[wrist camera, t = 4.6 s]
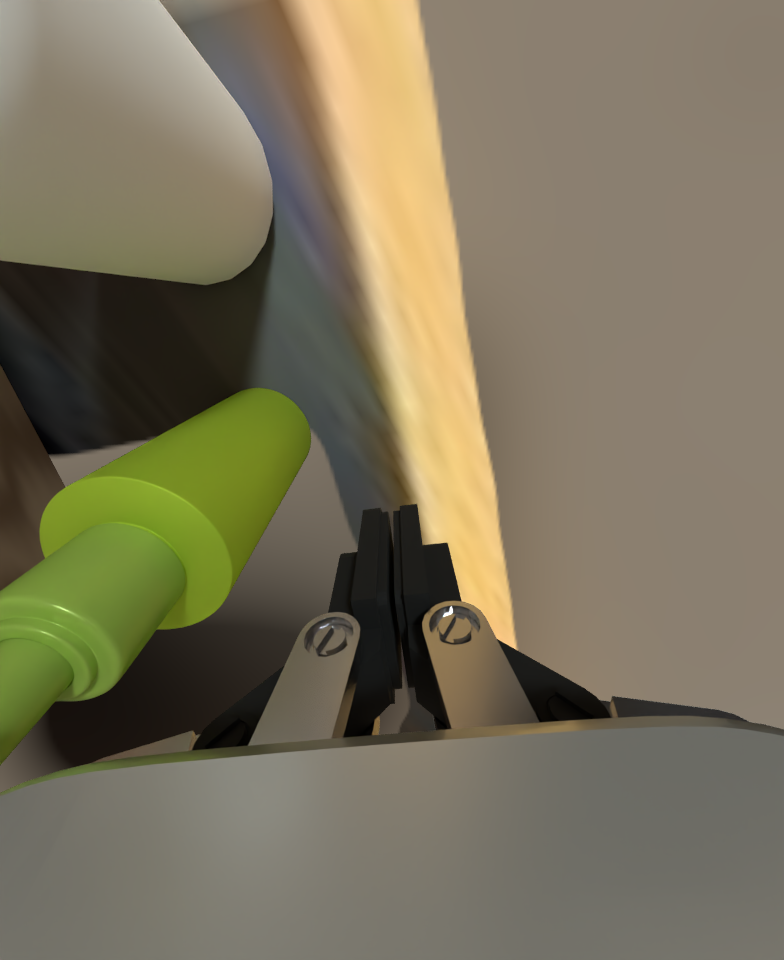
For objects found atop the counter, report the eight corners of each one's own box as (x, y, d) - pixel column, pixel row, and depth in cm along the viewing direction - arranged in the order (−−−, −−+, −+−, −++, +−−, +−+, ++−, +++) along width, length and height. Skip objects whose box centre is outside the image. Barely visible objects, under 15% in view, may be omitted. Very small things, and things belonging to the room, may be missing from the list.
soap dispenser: (205, 471, 25) (-303, 918, 7) (228, 372, 22) (-511, 666, 4) (291, 501, 26) (52, 965, 8) (323, 410, 23) (74, 787, 5)
